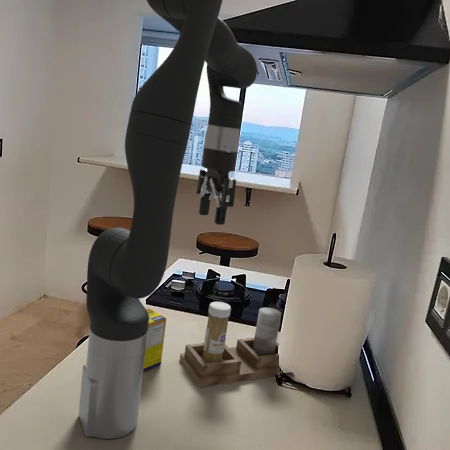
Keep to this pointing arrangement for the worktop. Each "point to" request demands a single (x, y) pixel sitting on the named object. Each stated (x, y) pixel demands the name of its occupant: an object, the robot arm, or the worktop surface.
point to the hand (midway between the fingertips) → (211, 219)
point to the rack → (239, 355)
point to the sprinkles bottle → (216, 332)
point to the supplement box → (154, 340)
